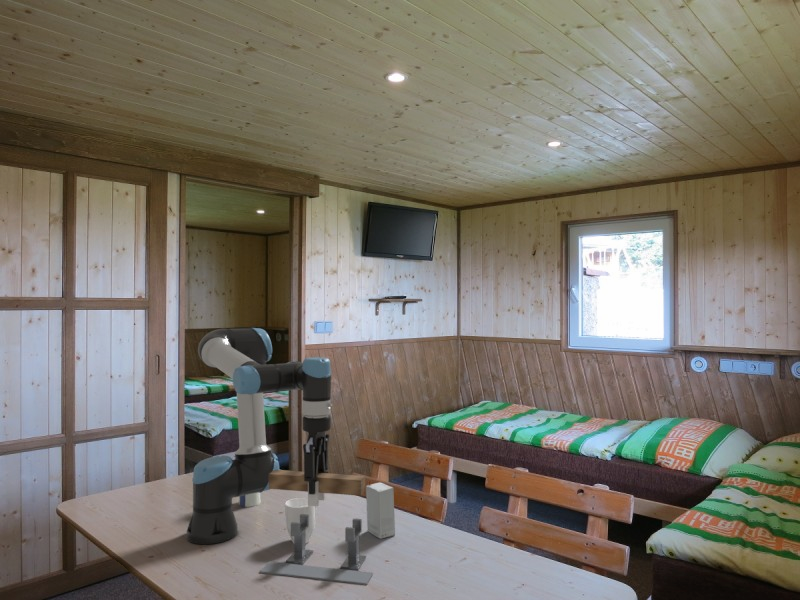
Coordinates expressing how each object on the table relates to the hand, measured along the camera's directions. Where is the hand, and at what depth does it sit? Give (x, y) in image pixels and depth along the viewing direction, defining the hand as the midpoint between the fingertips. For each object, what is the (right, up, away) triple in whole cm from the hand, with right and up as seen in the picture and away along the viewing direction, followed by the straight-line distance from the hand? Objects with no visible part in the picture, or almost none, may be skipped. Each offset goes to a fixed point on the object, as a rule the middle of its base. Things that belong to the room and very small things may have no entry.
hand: (316, 502), depth 153 cm
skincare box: (+16, -20, +27) cm, 37 cm away
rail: (0, +3, 0) cm, 3 cm away
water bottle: (-32, -20, +54) cm, 66 cm away
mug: (-7, -19, +22) cm, 30 cm away
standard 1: (-6, -19, +9) cm, 22 cm away
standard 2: (+10, -19, +6) cm, 22 cm away
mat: (0, -19, 0) cm, 19 cm away
